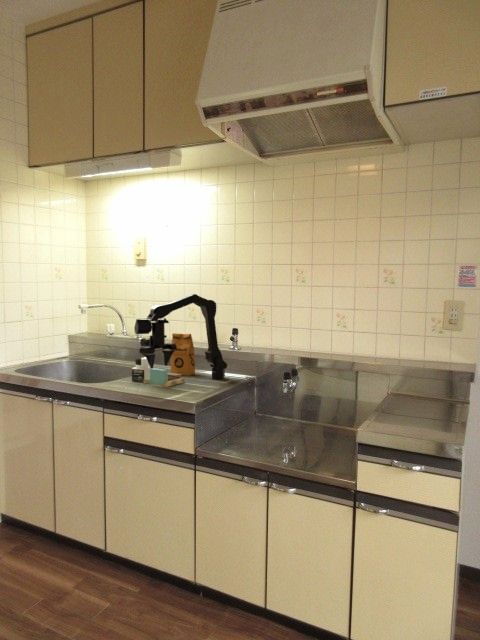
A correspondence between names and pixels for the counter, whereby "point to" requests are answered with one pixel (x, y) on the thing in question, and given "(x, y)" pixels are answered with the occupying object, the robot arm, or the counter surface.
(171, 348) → the robot arm
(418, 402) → the counter surface
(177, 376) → the offcut top
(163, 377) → the teal rectangular block
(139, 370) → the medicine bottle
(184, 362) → the coffee package
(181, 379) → the wooden tray
